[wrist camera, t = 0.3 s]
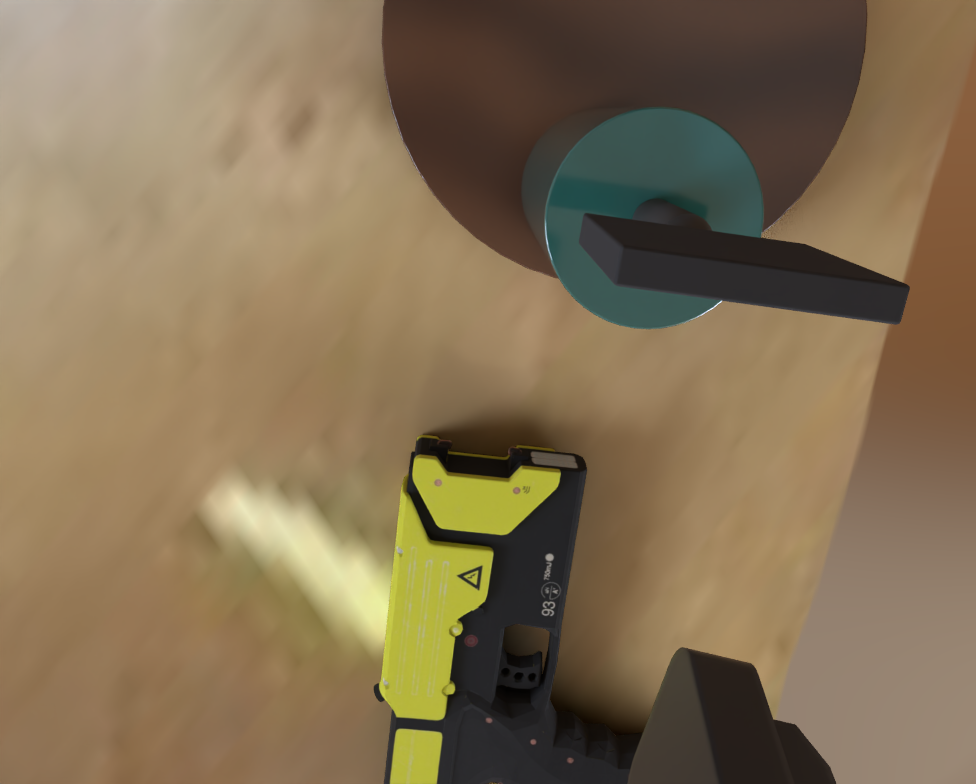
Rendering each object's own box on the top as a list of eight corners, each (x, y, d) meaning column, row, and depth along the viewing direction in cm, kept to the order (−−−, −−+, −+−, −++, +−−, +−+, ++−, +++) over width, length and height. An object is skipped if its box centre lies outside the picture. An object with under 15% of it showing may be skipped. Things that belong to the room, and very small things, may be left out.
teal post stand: (414, -264, 31) (330, -911, 11) (908, -177, 32) (1616, -628, 12) (361, 248, 36) (238, 418, 16) (792, 307, 37) (1167, 534, 17)
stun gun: (779, 488, 36) (397, 448, 36) (689, 882, 42) (355, 856, 41) (756, 461, 39) (401, 423, 38) (674, 833, 45) (361, 808, 44)
